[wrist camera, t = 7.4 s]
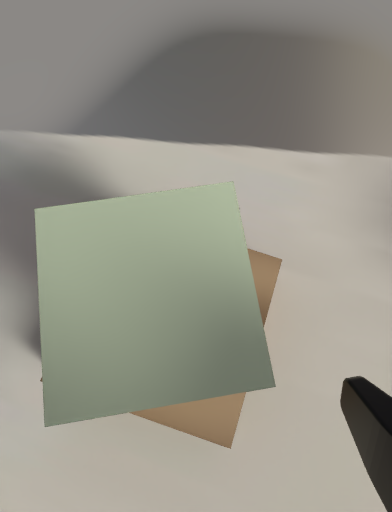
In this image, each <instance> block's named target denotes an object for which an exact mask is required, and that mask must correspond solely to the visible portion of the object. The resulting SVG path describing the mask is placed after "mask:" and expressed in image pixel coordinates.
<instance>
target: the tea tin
mask: <svg viewBox="0 0 392 512" xmlns="http://www.w3.org/2000/svg"><path fill="white" fill-rule="evenodd" d="M35 230H36V251H37V273H38V295H39V316H40V338H41V359H42V381H43V402H44V424H45V427H48V426H54V425H60V424H65V423H71V422H77V421H83V420H88V419H94V418H100V417H105V416H111V415H117V414H123V413H128V412H134V411H140V410H146V409H151V408H157V407H163V406H168V405H174V404H180V403H186V402H191V401H197V400H203V399H209V398H214V397H220V396H226V395H231V394H237V393H243V392H249V391H254V390H260V389H266V388H272V387H276V386H275V381H274V376H273V371H272V366H271V362H270V357H269V352H268V347H267V342H266V337H265V332H264V328H263V323H262V318H261V313H260V308H259V303H258V299H257V294H256V289H255V284H254V279H253V274H252V269H251V265H250V260H249V255H248V250H247V245H246V240H245V235H244V231H243V226H242V221H241V216H240V211H239V206H238V201H237V197H236V192H235V187H234V182H225V183H218V184H211V185H204V186H196V187H189V188H182V189H175V190H168V191H160V192H153V193H146V194H139V195H131V196H124V197H117V198H110V199H102V200H95V201H88V202H81V203H74V204H66V205H59V206H52V207H45V208H37V209H35Z"/></svg>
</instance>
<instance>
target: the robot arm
mask: <svg viewBox="0 0 392 512" xmlns="http://www.w3.org/2000/svg"><path fill="white" fill-rule="evenodd" d="M340 403H341V408H342V411H343V414H344V416H345V419H346V421H347V424H348V426H349V429H350V431H351V434H352V436H353V438H354V441H355V443H356V446H357V448H358V451H359V453H360V456H361V458H362V461H363V463H364V466H365V468H366V470H367V473H368V475H369V477H370V479H371V481H372V483H373V485H374V487H375V489H376V491H377V493H378V495H379V496H380V498H381V500H382V502H383V504H384V506H385V508H386V510H387V512H392V397H391V396H389V395H388V394H386V393H385V392H384V391H382V390H381V389H379V388H378V387H376V386H375V385H374V384H372V383H371V382H369V381H368V380H367V379H365V378H363V377H361V376H356V377H350V378H346V379H345V380H344V381H343V387H342V393H341V400H340Z"/></svg>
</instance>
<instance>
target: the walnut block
mask: <svg viewBox="0 0 392 512" xmlns="http://www.w3.org/2000/svg"><path fill="white" fill-rule="evenodd" d="M247 250H248V255H249V260H250V265H251V269H252V274H253V279H254V284H255V289H256V294H257V299H258V303H259V308H260V313H261V318H262V323H263V328H264V324H265V320H266V317H267V313H268V309H269V306H270V302H271V298H272V295H273V291H274V287H275V284H276V280H277V276H278V273H279V269H280V265H281V262H282V259H279V258H276V257H273V256H269V255H266V254H263V253H260V252H257V251H254V250H251V249H248V248H247ZM40 381H42V378H41V380H40ZM42 382H43V381H42ZM245 394H246V392H243V393H237V394H231V395H226V396H220V397H214V398H209V399H203V400H197V401H191V402H186V403H180V404H174V405H168V406H163V407H157V408H151V409H146V410H140V411H134V412H129V413H132V414H134V415H137V416H140V417H143V418H146V419H148V420H151V421H154V422H157V423H160V424H162V425H165V426H168V427H171V428H174V429H176V430H179V431H182V432H185V433H188V434H191V435H193V436H196V437H199V438H202V439H205V440H207V441H210V442H213V443H216V444H219V445H221V446H224V447H227V448H230V449H231V445H232V441H233V438H234V434H235V430H236V427H237V423H238V419H239V416H240V412H241V408H242V405H243V401H244V397H245Z"/></svg>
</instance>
